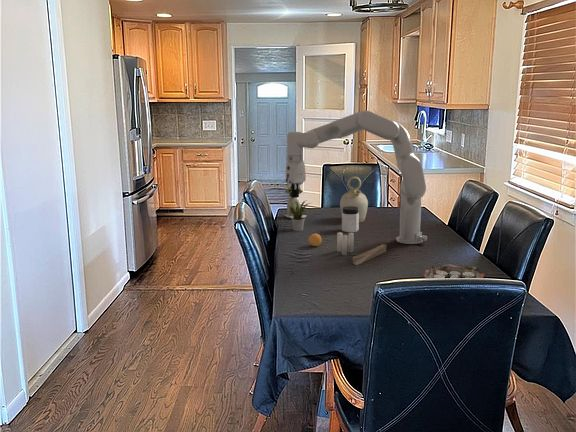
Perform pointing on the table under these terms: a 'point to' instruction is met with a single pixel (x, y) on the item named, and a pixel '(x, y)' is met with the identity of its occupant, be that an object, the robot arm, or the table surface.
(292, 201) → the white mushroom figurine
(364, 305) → the table surface
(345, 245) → the back pin left
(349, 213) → the jar
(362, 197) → the jug
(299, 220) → the house plant
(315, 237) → the ball
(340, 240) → the front pin
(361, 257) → the curved brown wooden stick
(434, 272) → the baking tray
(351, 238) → the back pin right
